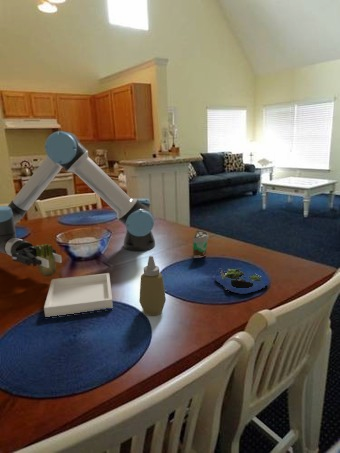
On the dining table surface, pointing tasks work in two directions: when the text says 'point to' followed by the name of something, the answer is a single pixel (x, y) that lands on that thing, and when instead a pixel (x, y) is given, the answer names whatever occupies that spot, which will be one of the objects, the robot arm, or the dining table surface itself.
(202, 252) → the food container
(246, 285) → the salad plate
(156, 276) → the squeeze bottle
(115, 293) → the dining table surface
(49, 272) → the fennel bulb
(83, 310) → the bin
